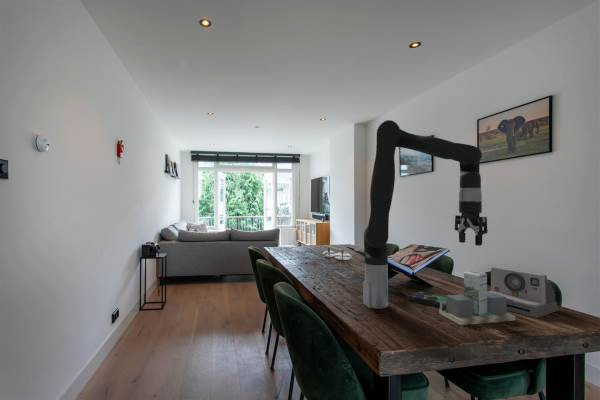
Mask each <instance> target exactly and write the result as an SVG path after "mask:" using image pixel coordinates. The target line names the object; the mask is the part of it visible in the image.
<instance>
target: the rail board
mask: <svg viewBox="0 0 600 400" xmlns="http://www.w3.org/2000/svg"><path fill="white" fill-rule="evenodd" d="M445 296H446V302H440V308H439V310H438V314H439V315H441V316H443V317H444V318H447V319H449V320H451V321H453V322H454V323H456V324H457V325H460V326H468V324H469V325H479V324H488V323H489V324H490V323H501V322H511V321H516V315H513V314H511V313H509V312H508V311H507V306H506V297H505V296H502V295H499V294H496V293H493V292H491V293H487V313H485V314H482V315H476V314H473V299H470V298H468V297H465V296H464V294H463V295H462V294H449V295H448V294H447V295H445Z"/></svg>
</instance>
